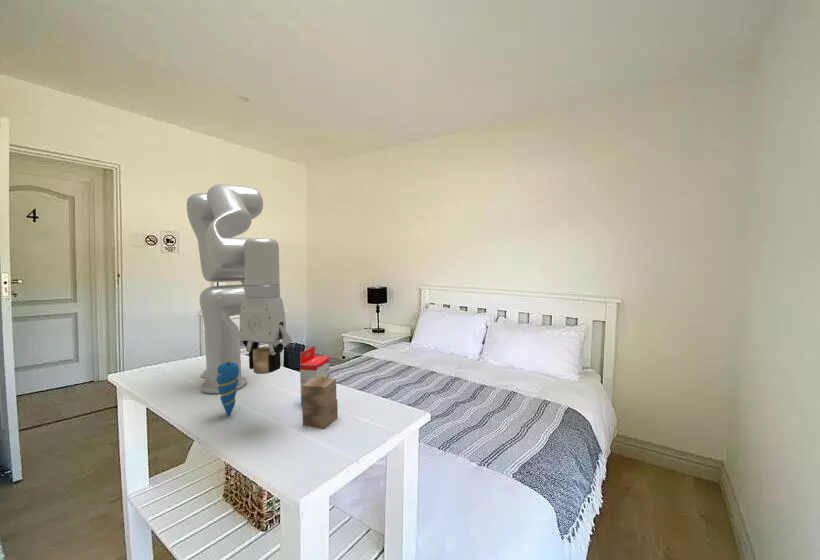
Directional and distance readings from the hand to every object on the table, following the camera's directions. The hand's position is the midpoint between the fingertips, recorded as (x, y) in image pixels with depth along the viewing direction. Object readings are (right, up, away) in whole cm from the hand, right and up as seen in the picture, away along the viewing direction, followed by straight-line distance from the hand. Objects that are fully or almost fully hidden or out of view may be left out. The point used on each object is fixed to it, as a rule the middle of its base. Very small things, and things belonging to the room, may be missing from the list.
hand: (265, 368), depth 85 cm
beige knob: (0, -1, 0) cm, 1 cm away
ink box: (+8, -13, +16) cm, 22 cm away
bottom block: (+12, -14, +4) cm, 19 cm away
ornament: (-12, -14, +7) cm, 20 cm away
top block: (+12, -9, +3) cm, 16 cm away
